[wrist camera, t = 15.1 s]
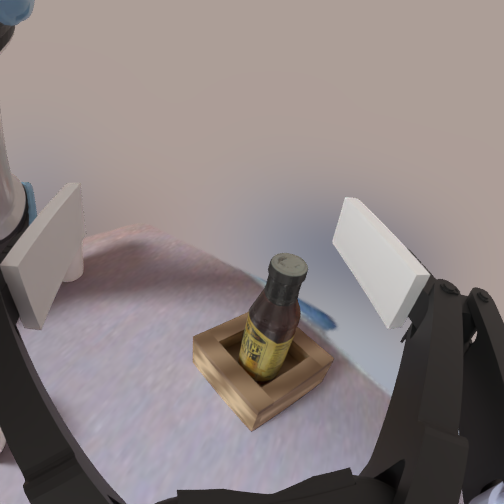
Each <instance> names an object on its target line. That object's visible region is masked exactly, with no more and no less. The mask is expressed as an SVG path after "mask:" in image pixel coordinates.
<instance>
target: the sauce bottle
mask: <svg viewBox="0 0 504 504" xmlns="http://www.w3.org/2000/svg"><path fill="white" fill-rule="evenodd" d="M268 271H269V276H268V279H267V283H266V286H265V288H264V290H263V291H262V292H261V294H260V295H259V297H258V298H257V299H256V301H255V302H254V303H253V305H252V306H251V307H250V309H249V313H248V317H247V322H246V326H245V330H244V335H243V339H242V344H241V349H240V353H239V358H238V364H239V365H240V366H241V367H242V368H243V369H244V370H245V371H246V373H247V374H248V375H249V376H250V377H251V378H252V379H253V380H254V381H255V382H256V383H257V384H260V385H262V384H267V383H269V382H271V381H272V380H273V379H275V378H276V376H277V375H278V373H279V371H280V369H281V367H282V364H283V362H284V359H285V357H286V355H287V352H288V350H289V347H290V345H291V342H292V340H293V337H294V335H295V332H296V328H297V325H298V323H299V320H300V314H301V313H300V306H299V303H298V299H297V298H298V294H299V290H300V287H301V283H302V282H303V281H304V280H305V278H306V275H307V271H308V266H307V264H306V263H305V261H304V260H303V259H301V258H300V257H298V256H295V255H293V254H289V253H280V254H277V255H275V256H274V257H273V258H272V259H271V261H270V264H269V268H268Z"/></svg>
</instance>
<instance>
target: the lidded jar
mask: <svg viewBox="0 0 504 504" xmlns="http://www.w3.org/2000/svg"><path fill="white" fill-rule="evenodd" d="M5 443H6V439H5V437H4V434H3V432H2V430H1V427H0V453H1V452H2V450H3V448H4V446H5Z"/></svg>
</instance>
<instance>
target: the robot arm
mask: <svg viewBox="0 0 504 504" xmlns="http://www.w3.org/2000/svg"><path fill="white" fill-rule="evenodd" d="M33 7H34V0H0V54H1V53H2V52H3V51H4V50H5V49H6V47H7V46H8V45H9V43H10V41H11V39H12V37H13V35H14V30H15V25H17V24H19V23H20V22H21V21H24V20H26V19H27V18H29V16H30V15H31V13H32V11H33ZM85 235H86V227H85V220H84V212H83V203H82V192H81V183H67V184H66V185H65V186H64V187H63V188H62V189H61V190H60V191H59V192H58V193H57V194H56V196H55V197H54V198H53V199H52V200H51V201H50V202H49V203H48V204H47V206H46V207H45V208H44V209H43V210H42V211H41V212H40V214H39V215H38V216H37V211H36V204H35V197H34V192H33V188H32V185H31V184H30V183H29V182H26V183H24V182H20V180H19V179H18V178H17V177H16V176H15V175H13V174H12V173H11V172H10V167H9V163H8V157H7V152H6V146H5V140H4V134H3V127H2V119H1V111H0V427H1V430H2V432H3V434H4V437H5V439H6V441H7V443H8V446H9V448H10V450H11V452H12V454H13V456H14V458H15V460H16V462H17V464H18V466H19V468H20V470H21V472H22V474H23V476H24V478H25V483H24V485H23V488H24V492H25V494H26V496H27V498H28V500H29V502H30V503H31V504H126V503H125V501H124V500H123V499H122V498H121V497H120V496H119V495H118V494H117V493H116V492H115V491H114V490H113V489H112V488H111V487H110V485H109V484H108V483H107V482H106V481H105V480H104V478H103V477H102V476H101V474H100V473H99V472H98V471H97V469H96V468H95V467H94V465H93V464H92V463H91V461H90V460H89V458H88V457H87V456H86V454H85V453H84V451H83V450H82V449H81V447H80V446H79V444H78V443H77V441H76V440H75V438H74V437H73V435H72V434H71V432H70V431H69V429H68V427H67V426H66V424H65V423H64V421H63V419H62V418H61V416H60V414H59V413H58V411H57V409H56V407H55V406H54V404H53V402H52V400H51V399H50V397H49V395H48V393H47V391H46V389H45V387H44V385H43V384H42V382H41V380H40V378H39V376H38V374H37V371H36V369H35V367H34V365H33V363H32V361H31V359H30V357H29V354H28V352H27V350H26V347H25V345H24V343H23V340H22V338H21V335H20V333H19V331H18V328H17V326H16V323H17V320H18V318H19V317H20V319H21V321H22V323H23V326H24V328H28V329H35V330H42V328H43V325H44V322H45V320H46V317H47V315H48V313H49V310H50V308H51V305H52V303H53V301H54V299H55V296H56V294H57V292H58V290H59V287H60V285H61V283H62V281H63V279H64V277H65V274H66V272H67V270H68V268H69V266H70V264H71V262H72V260H73V258H74V256H75V254H76V252H77V250H78V248H79V246H80V245H81V243H82V241H83V239H84V237H85ZM332 243H333V244H334V246H335V247H336V249H337V250H338V252H339V253H340V255H341V256H342V258H343V259H344V261H345V262H346V264H347V265H348V267H349V268H350V270H351V271H352V273H353V274H354V276H355V278H356V279H357V281H358V282H359V284H360V285H361V287H362V288H363V290H364V291H365V293H366V295H367V296H368V298H369V299H370V301H371V303H372V304H373V306H374V308H375V309H376V311H377V312H378V314H379V316H380V317H381V319H382V321H383V322H384V324H385V325H386V327H387V329H394V328H401V327H402V326H403V324H404V323H405V321H406V319H407V317H409V318H410V320H411V321H412V324H411V325H410V327H409V328H408V330H407V332H406V333H405V335H404V336H403V338H402V340H401V342H402V343H403V341H404V340H405V339H406V342H405V346H404V351H403V356H402V360H401V364H400V368H399V372H398V376H397V379H396V383H395V387H394V390H393V394H392V397H391V401H390V404H389V407H388V411H387V414H386V417H385V420H384V423H383V426H382V429H381V432H380V435H379V438H378V440H377V443H376V446H375V449H374V451H373V454H372V457H371V459H370V461H369V462H368V464H367V465H366V467H365V468H364V469H363V471H362V472H361V473H360V475H359V476H357V475H352V472H351V469H350V468H346V469H342V470H338V471H335V472H330V473H326V474H322V475H318V476H313V477H311V478H309V479H306V480H304V481H302V482H300V483H298V484H295V485H293V486H291V487H289V488H286V489H284V490H282V491H279V492H277V493H274V494H259V493H250V492H241V491H234V490H227V489H209V490H177V497H173V498H169V499H166V500H163V501H160V502H157V503H155V504H458V503H459V499H460V494H461V490H462V492H463V500H464V504H504V323H503V320H502V318H501V316H500V314H499V312H498V309H497V307H496V305H495V303H494V301H493V299H492V297H491V296H490V295H489V294H488V292H486V291H485V290H483V289H480V288H473V289H472V290H471V292H470V294H469V296H464V295H461V294H460V291H459V290H458V289H457V287H456V286H454V285H453V284H452V283H450V282H448V281H446V280H443V279H438V280H436V279H435V278H434V277H433V275H432V274H431V273H430V272H429V271H428V270H427V269H426V267H425V266H424V265H423V264H421V262H420V261H419V260H418V259H417V258H416V256H415V255H414V254H413V253H412V252H411V251H410V250H409V249H407V248H406V247H405V246H404V245H403V244H402V243H401V242H400V241H399V240H398V239H397V238H396V236H395V235H393V233H392V232H391V231H390V230H389V229H388V228H387V227H386V226H385V225H384V224H383V223H382V222H381V221H380V220H379V219H378V218H377V217H376V216H375V215H374V214H373V213H372V212H371V211H370V210H369V209H368V208H367V207H366V206H365V205H364V204H363V203H362V202H361V201H360V200H359V199H357V198H349V197H345V200H344V204H343V207H342V211H341V214H340V217H339V221H338V224H337V228H336V231H335V234H334V237H333V241H332ZM476 331H477V337H476V339H475V341H474V342H473V343H472V340H471V338H472V337H473V335H474V334H475V332H476ZM458 430H459V435H458Z"/></svg>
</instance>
